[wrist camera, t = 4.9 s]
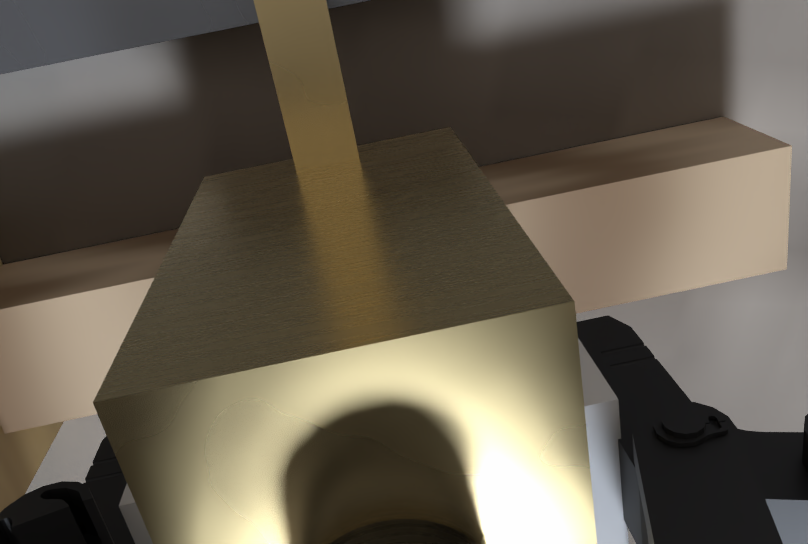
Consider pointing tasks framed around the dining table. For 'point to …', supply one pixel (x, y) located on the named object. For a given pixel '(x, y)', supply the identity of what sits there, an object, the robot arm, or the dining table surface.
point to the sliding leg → (351, 345)
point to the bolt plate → (109, 26)
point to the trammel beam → (520, 191)
